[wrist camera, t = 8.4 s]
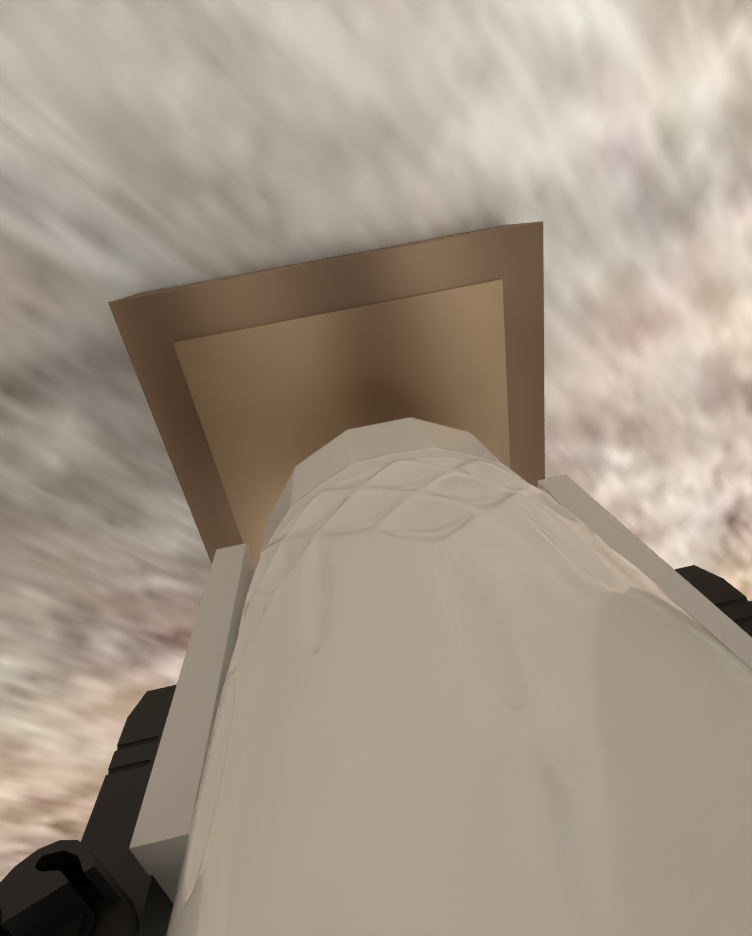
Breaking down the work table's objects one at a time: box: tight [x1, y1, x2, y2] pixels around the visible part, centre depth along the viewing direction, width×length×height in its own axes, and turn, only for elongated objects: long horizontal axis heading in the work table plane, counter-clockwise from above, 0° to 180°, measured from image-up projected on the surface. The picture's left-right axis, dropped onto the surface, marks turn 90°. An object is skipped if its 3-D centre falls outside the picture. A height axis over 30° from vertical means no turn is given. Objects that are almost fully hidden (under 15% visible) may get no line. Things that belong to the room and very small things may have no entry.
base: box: [109, 222, 545, 569], centre depth 19 cm, size 14×14×3 cm
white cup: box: [166, 417, 752, 936], centre depth 8 cm, size 8×8×10 cm
